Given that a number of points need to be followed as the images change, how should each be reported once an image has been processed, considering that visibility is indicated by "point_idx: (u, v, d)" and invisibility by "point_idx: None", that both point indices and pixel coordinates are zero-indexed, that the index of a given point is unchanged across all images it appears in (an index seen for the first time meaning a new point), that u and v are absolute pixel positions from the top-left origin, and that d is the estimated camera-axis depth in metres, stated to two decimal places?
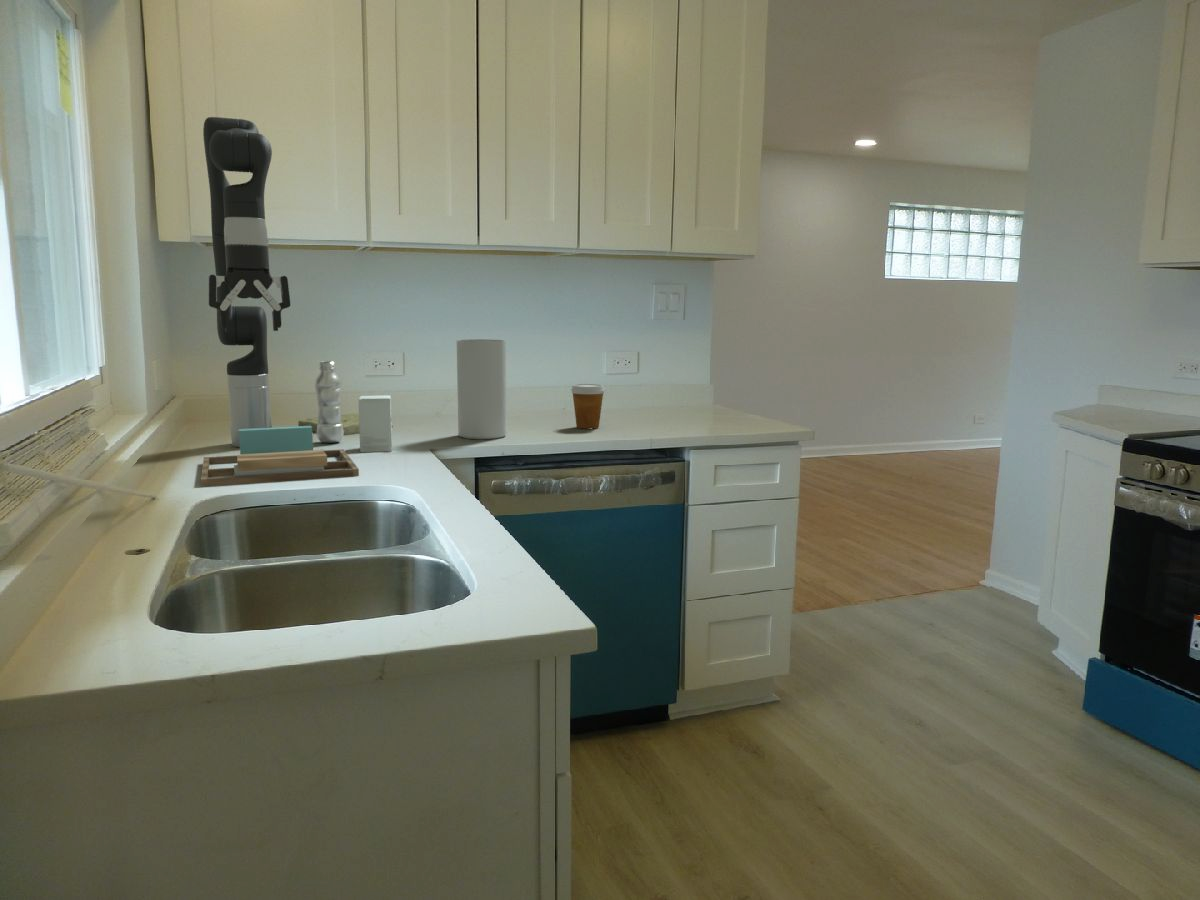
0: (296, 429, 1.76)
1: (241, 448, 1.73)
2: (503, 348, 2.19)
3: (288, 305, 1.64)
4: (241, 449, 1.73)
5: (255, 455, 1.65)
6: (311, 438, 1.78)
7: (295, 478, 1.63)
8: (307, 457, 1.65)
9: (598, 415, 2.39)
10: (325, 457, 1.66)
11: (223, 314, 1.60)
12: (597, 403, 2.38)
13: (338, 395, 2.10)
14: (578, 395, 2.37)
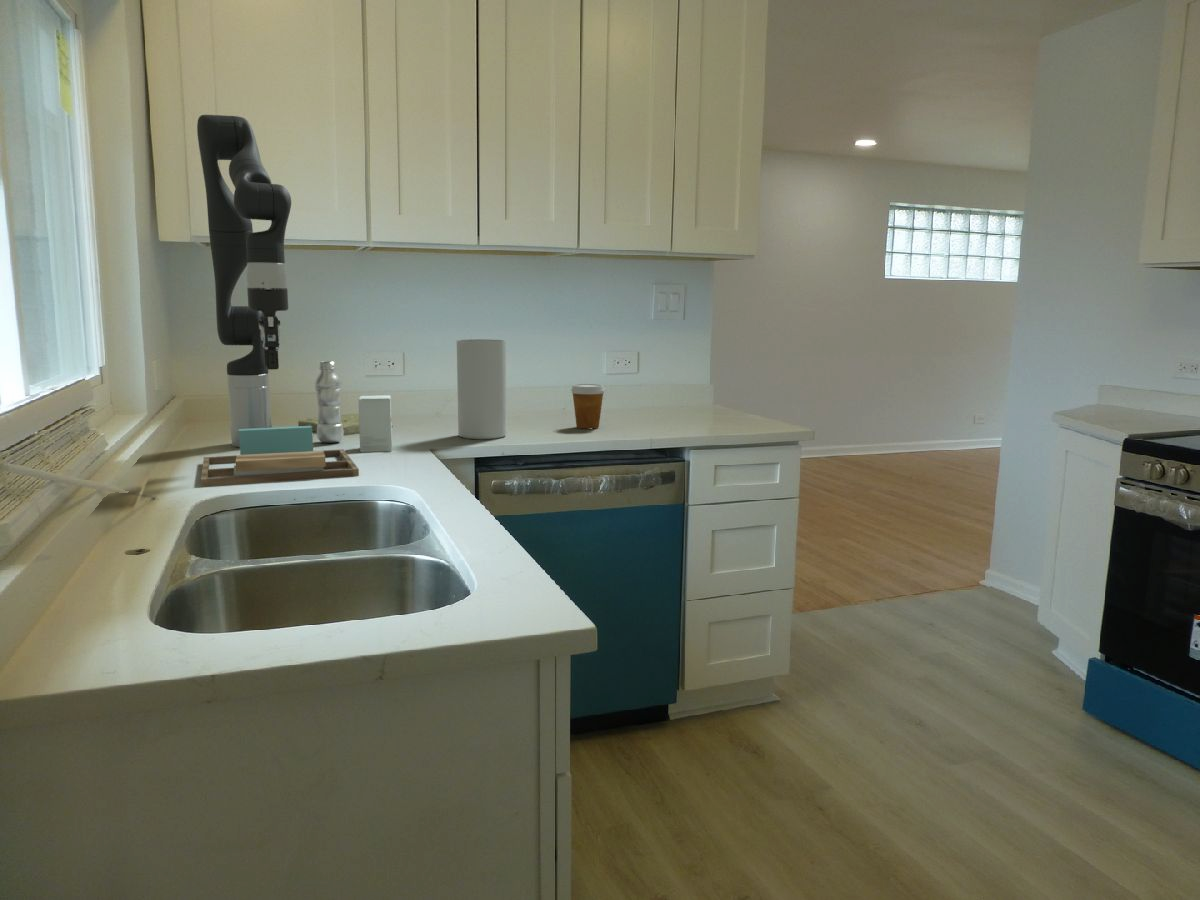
0: (296, 429, 1.76)
1: (241, 448, 1.73)
2: (503, 348, 2.19)
3: None
4: (241, 449, 1.73)
5: (254, 456, 1.65)
6: (311, 438, 1.78)
7: (295, 478, 1.63)
8: (305, 458, 1.64)
9: (598, 415, 2.39)
10: (323, 458, 1.65)
11: (275, 353, 1.69)
12: (597, 403, 2.38)
13: (338, 395, 2.10)
14: (578, 395, 2.37)
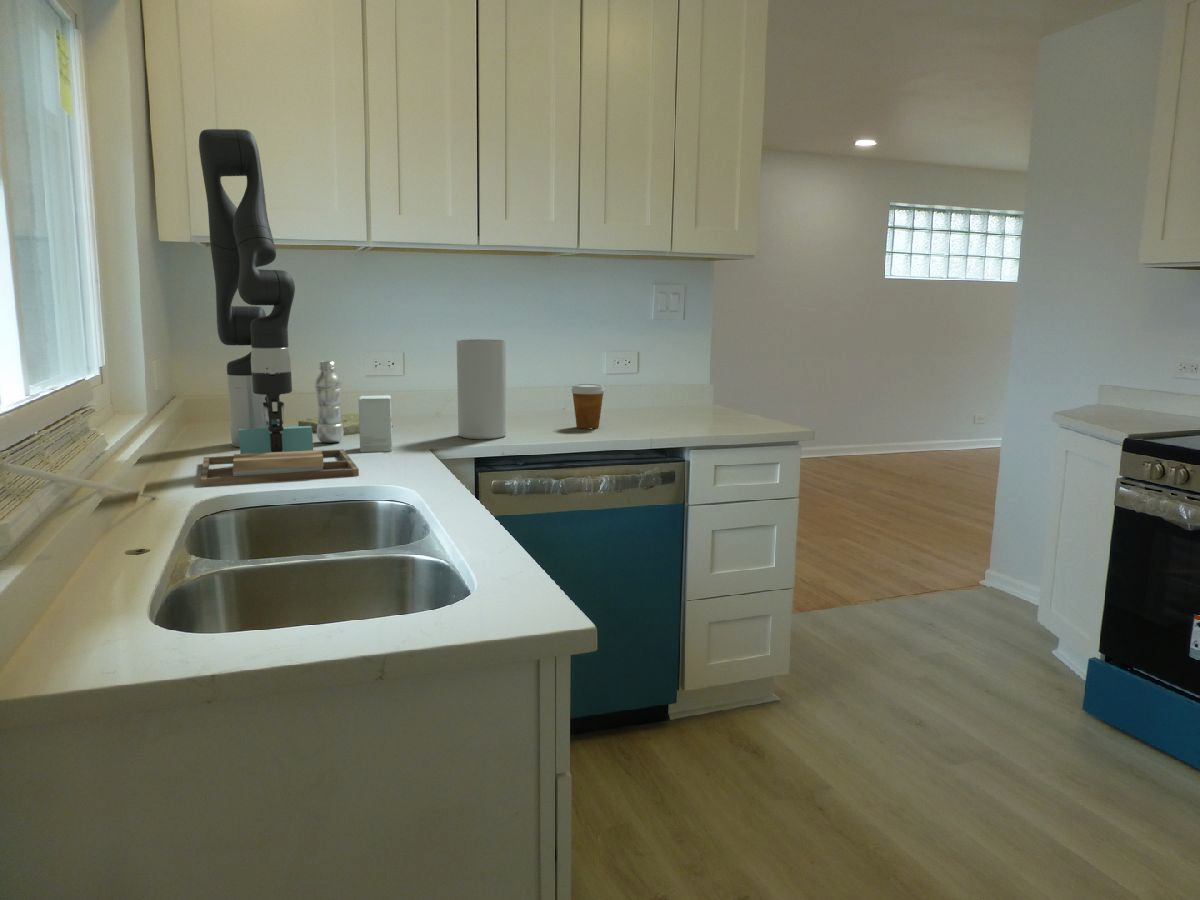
0: (296, 429, 1.76)
1: (241, 448, 1.73)
2: (503, 348, 2.19)
3: None
4: (241, 449, 1.73)
5: (252, 455, 1.65)
6: (311, 438, 1.78)
7: (295, 478, 1.63)
8: (303, 458, 1.64)
9: (598, 415, 2.39)
10: (321, 458, 1.65)
11: (279, 436, 1.72)
12: (597, 403, 2.38)
13: (338, 395, 2.10)
14: (578, 395, 2.37)
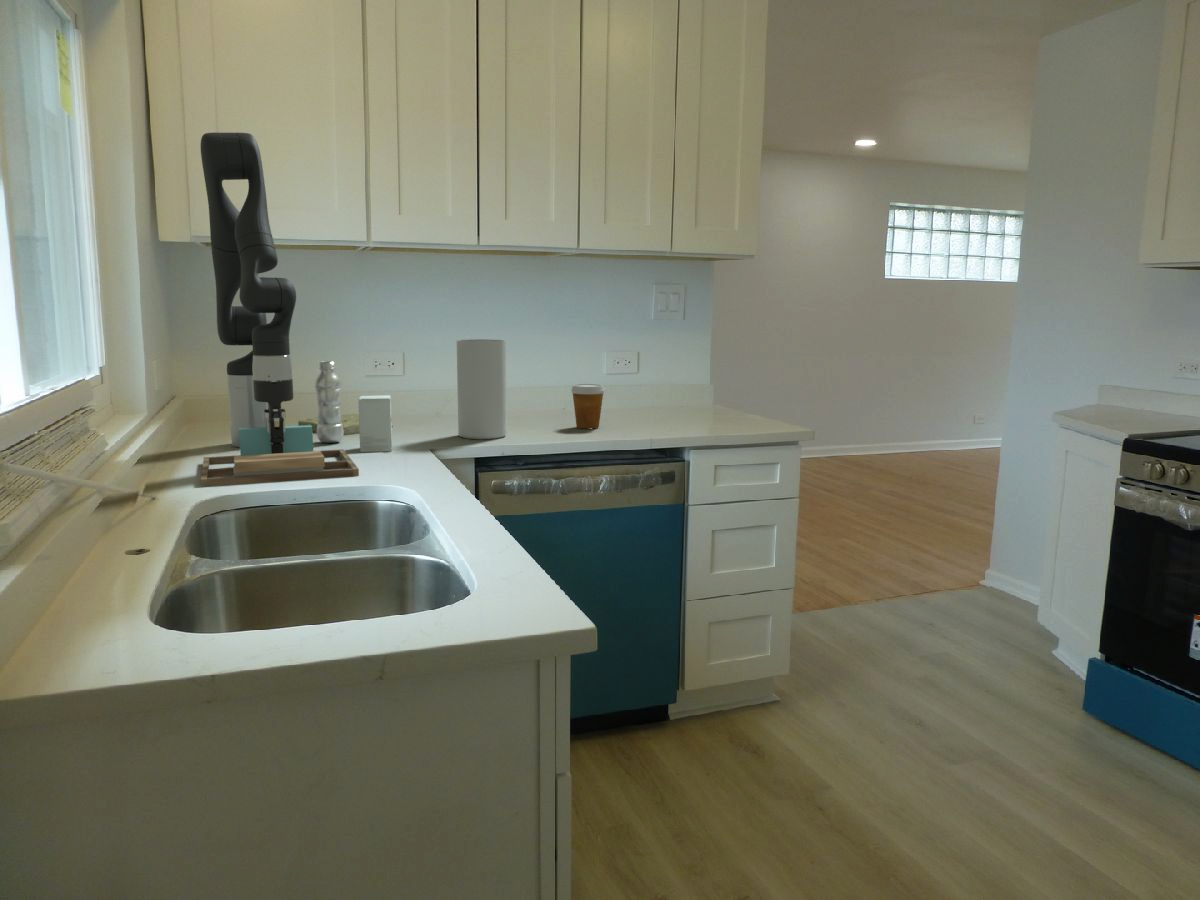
0: (296, 428, 1.76)
1: (241, 447, 1.73)
2: (503, 348, 2.19)
3: None
4: (241, 448, 1.73)
5: (252, 456, 1.65)
6: (311, 437, 1.78)
7: (295, 478, 1.63)
8: (304, 458, 1.64)
9: (598, 415, 2.39)
10: (322, 458, 1.65)
11: (280, 447, 1.75)
12: (597, 403, 2.38)
13: (338, 395, 2.10)
14: (578, 395, 2.37)
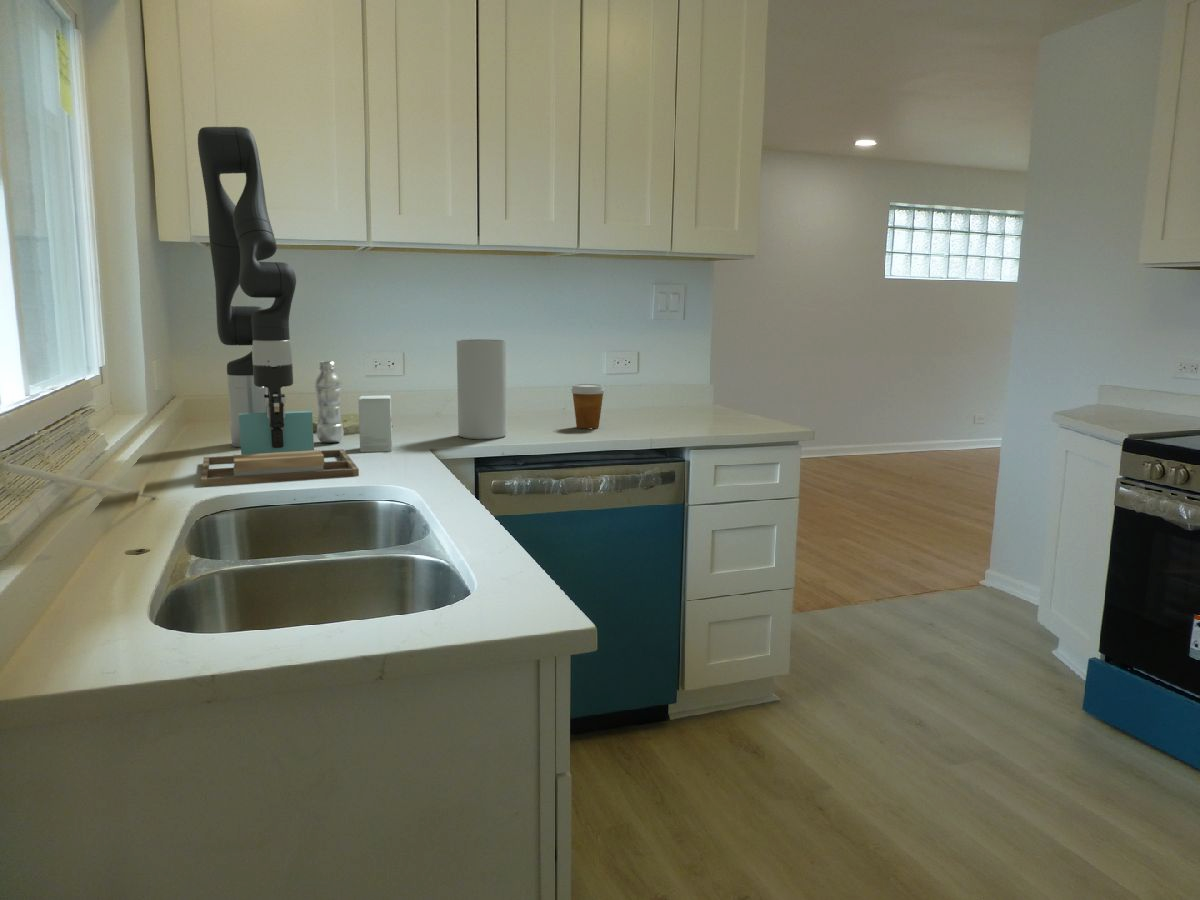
0: (296, 414, 1.76)
1: (241, 433, 1.72)
2: (503, 348, 2.19)
3: None
4: (241, 434, 1.72)
5: (252, 455, 1.65)
6: (311, 423, 1.77)
7: (295, 478, 1.63)
8: (304, 457, 1.64)
9: (598, 415, 2.39)
10: (322, 457, 1.66)
11: (280, 432, 1.75)
12: (597, 403, 2.38)
13: (338, 395, 2.10)
14: (578, 395, 2.37)
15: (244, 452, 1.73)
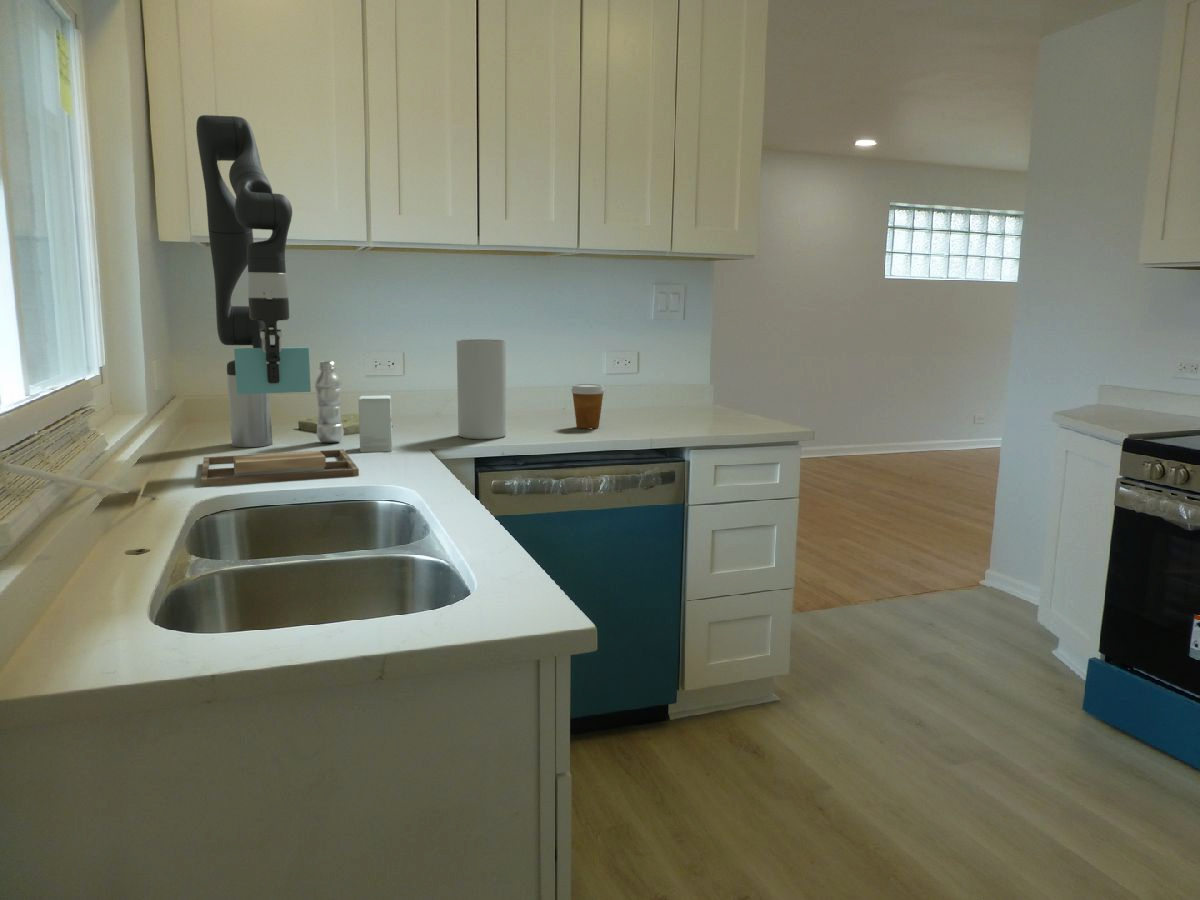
0: (292, 349, 1.73)
1: (236, 367, 1.70)
2: (503, 348, 2.19)
3: None
4: (236, 368, 1.70)
5: (252, 457, 1.65)
6: (308, 359, 1.75)
7: (295, 478, 1.63)
8: (306, 458, 1.64)
9: (598, 415, 2.39)
10: (323, 458, 1.66)
11: (276, 367, 1.72)
12: (597, 403, 2.38)
13: (338, 395, 2.10)
14: (578, 395, 2.37)
15: (239, 387, 1.71)
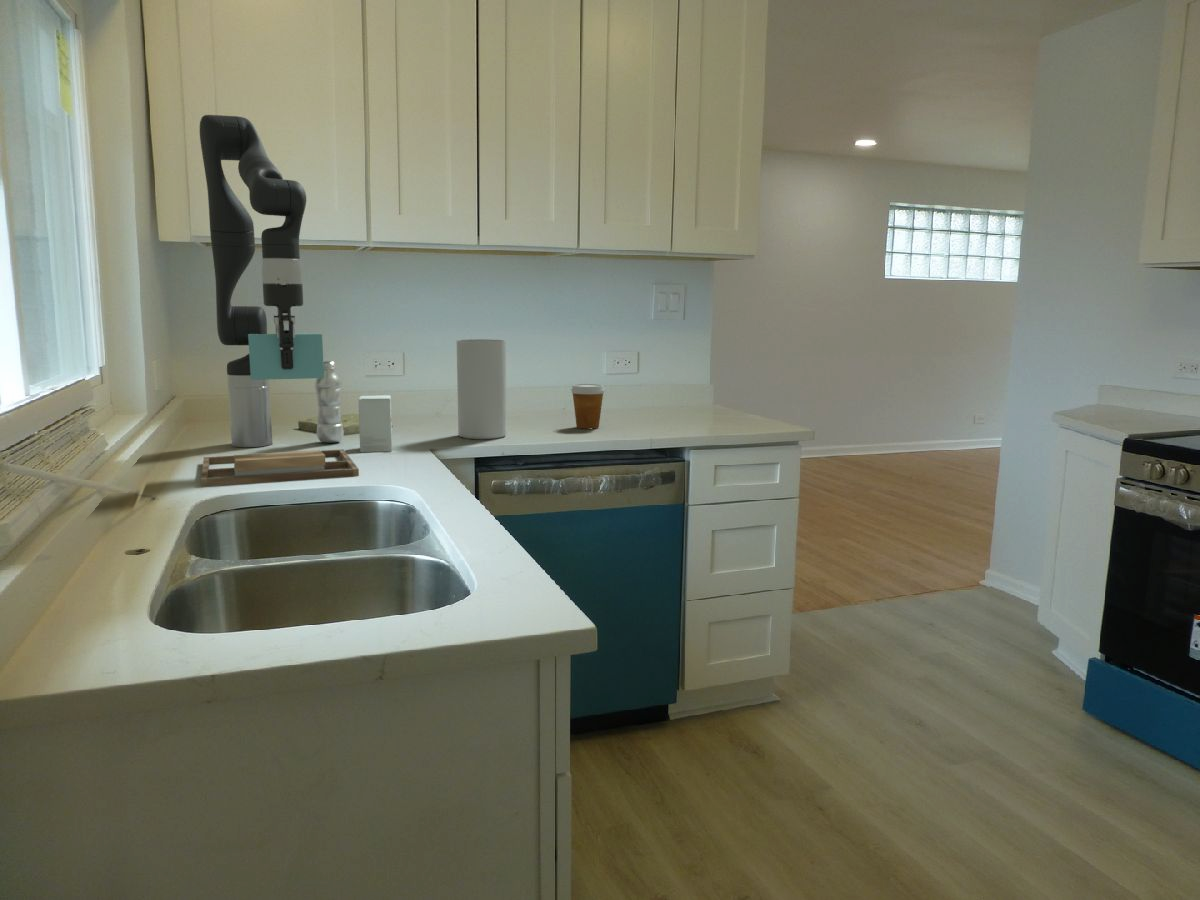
0: (306, 335, 1.74)
1: (250, 352, 1.70)
2: (503, 348, 2.19)
3: None
4: (250, 353, 1.70)
5: (252, 455, 1.65)
6: (321, 345, 1.75)
7: (295, 478, 1.63)
8: (305, 457, 1.65)
9: (598, 415, 2.39)
10: (323, 457, 1.66)
11: (290, 353, 1.73)
12: (597, 403, 2.38)
13: (338, 395, 2.10)
14: (578, 395, 2.37)
15: (253, 372, 1.71)
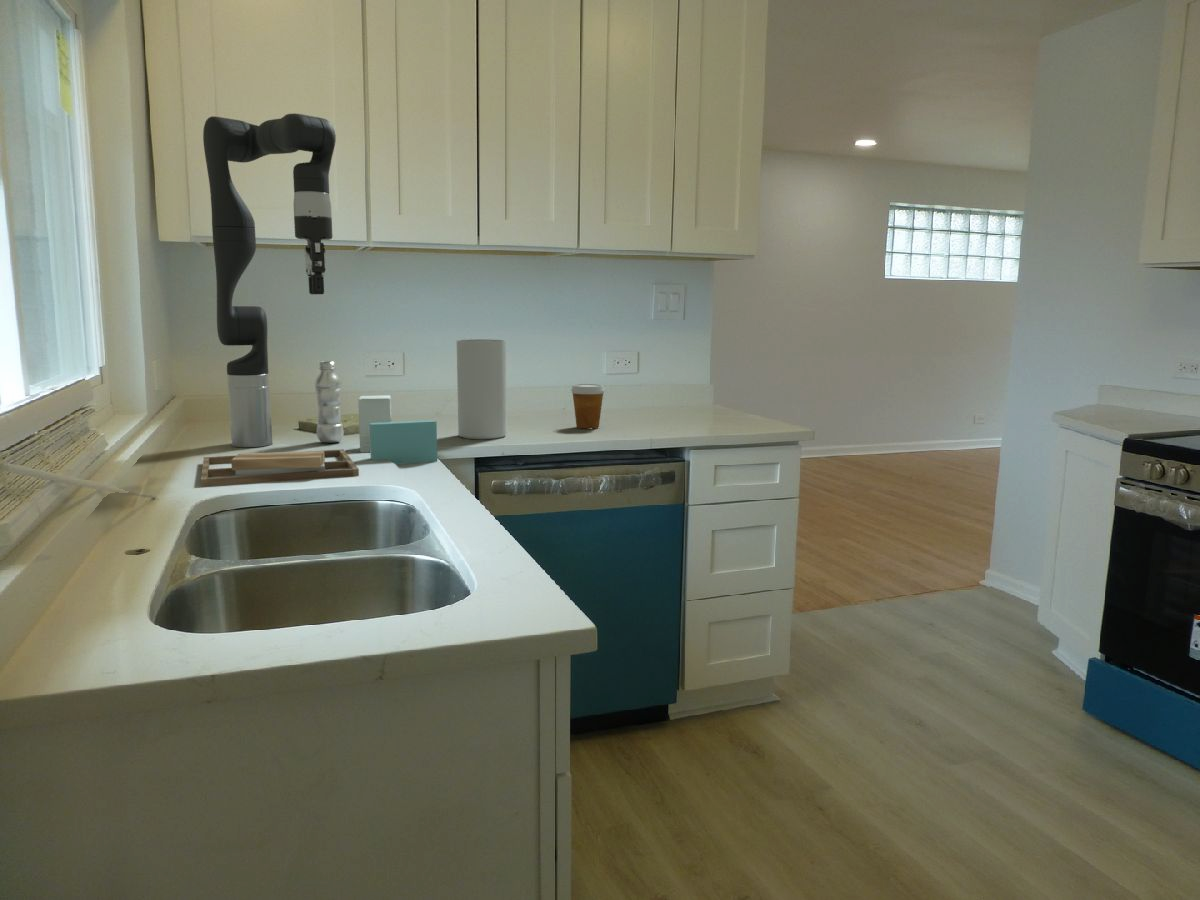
0: (422, 423, 1.86)
1: (373, 441, 1.83)
2: (503, 348, 2.19)
3: None
4: (373, 442, 1.83)
5: (254, 454, 1.66)
6: (435, 432, 1.88)
7: (295, 478, 1.63)
8: (300, 458, 1.63)
9: (598, 415, 2.39)
10: (318, 459, 1.64)
11: (321, 278, 1.78)
12: (597, 403, 2.38)
13: (338, 395, 2.10)
14: (578, 395, 2.37)
15: (375, 459, 1.84)
